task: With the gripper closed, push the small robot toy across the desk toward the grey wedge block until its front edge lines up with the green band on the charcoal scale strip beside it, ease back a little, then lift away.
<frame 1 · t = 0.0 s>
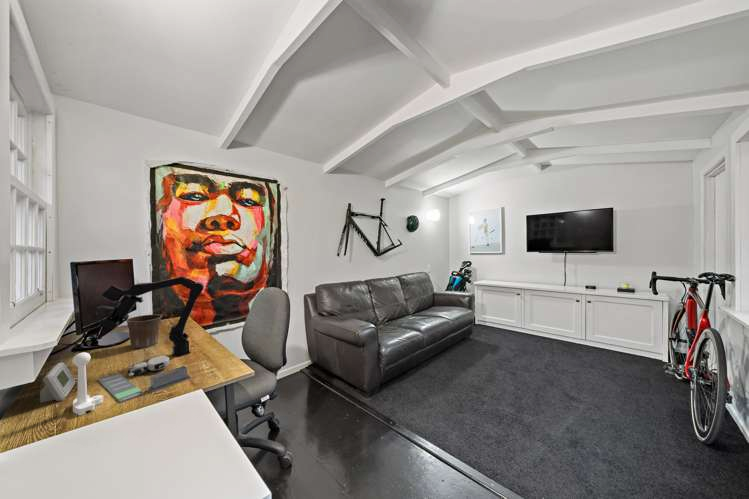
hand: (102, 335, 132), 15 cm above the table, tool tilted 35°, fingers open, 9 cm apart
plant pot: (144, 345, 160), on the table
digital clock: (60, 394, 107), on the table
joystick: (88, 406, 99), on the table
robot toy: (149, 371, 127), on the table
scale strip: (119, 387, 112), on the table
grey wedge block: (169, 383, 115), on the table
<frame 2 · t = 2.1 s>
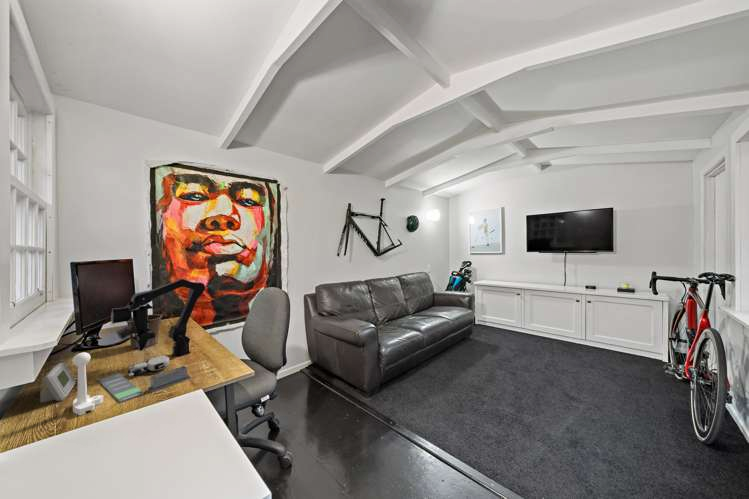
hand: (141, 350, 134), 7 cm above the table, tool pointing down, fingers closed
nothing on the table moved.
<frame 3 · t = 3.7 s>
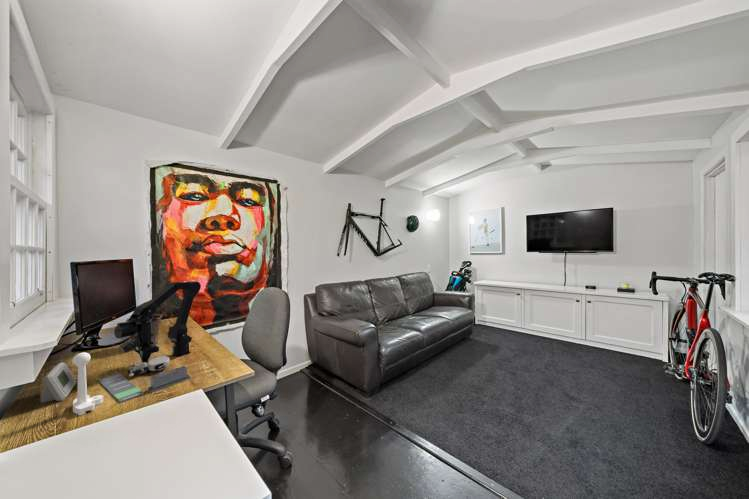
hand: (144, 364, 131), 1 cm above the table, tool pointing down, fingers closed
robot toy: (149, 371, 127), on the table, touching gripper
everything else where it was.
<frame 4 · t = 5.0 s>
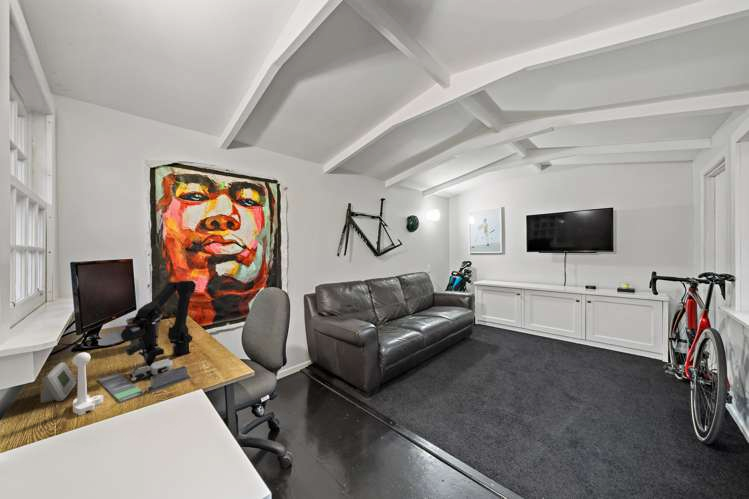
hand: (148, 367, 128), 1 cm above the table, tool pointing down, fingers closed
robot toy: (152, 375, 123), on the table, touching gripper
everything else where it was.
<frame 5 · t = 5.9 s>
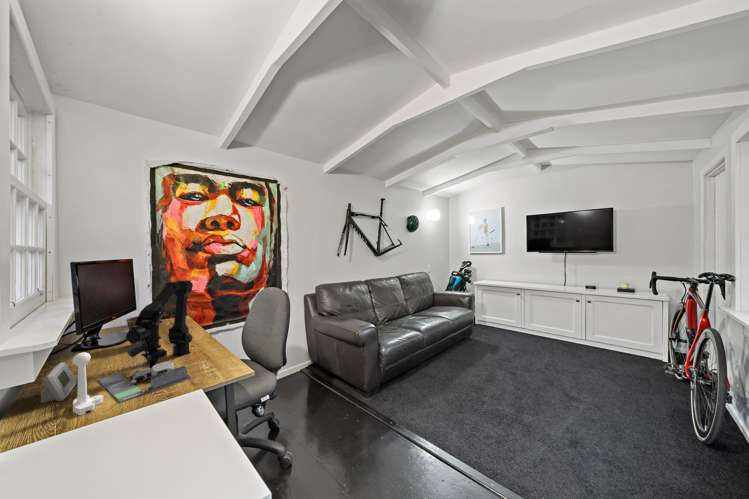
hand: (151, 368, 126), 1 cm above the table, tool pointing down, fingers closed
robot toy: (153, 377, 121), on the table, touching gripper
everything else where it was.
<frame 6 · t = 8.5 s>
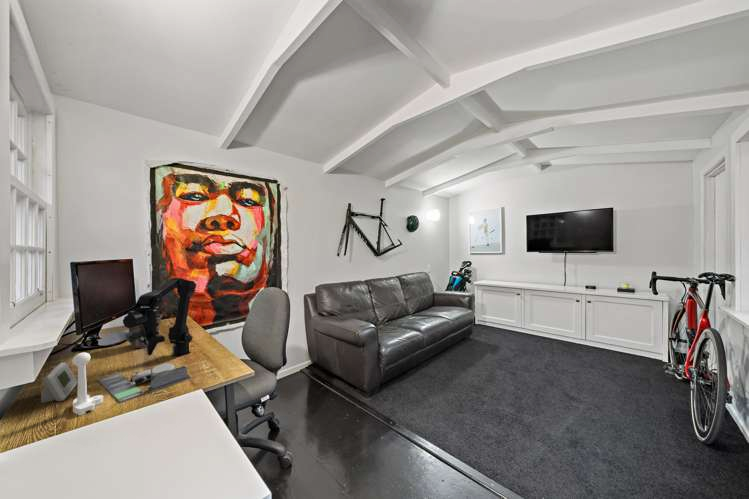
hand: (149, 355, 127), 8 cm above the table, tool pointing down, fingers closed
robot toy: (153, 379, 119), on the table
everything else where it was.
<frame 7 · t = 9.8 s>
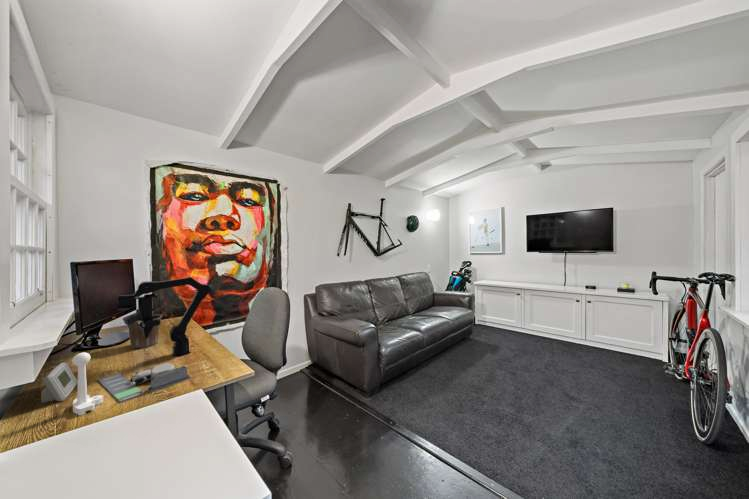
hand: (146, 337, 137), 12 cm above the table, tool pointing down, fingers closed
nothing on the table moved.
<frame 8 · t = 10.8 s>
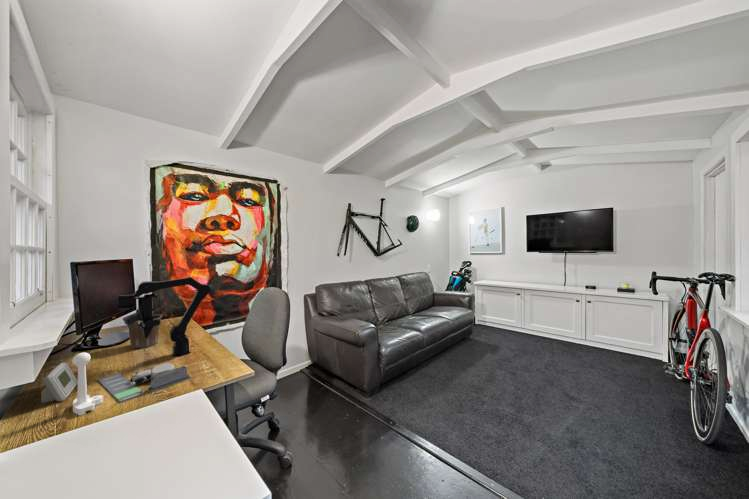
hand: (146, 337, 137), 12 cm above the table, tool pointing down, fingers closed
nothing on the table moved.
at the end: robot toy inside the target area (2.2 cm from its centre), on the table; robot toy touching table; robot toy moved 11.6 cm from its start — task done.
